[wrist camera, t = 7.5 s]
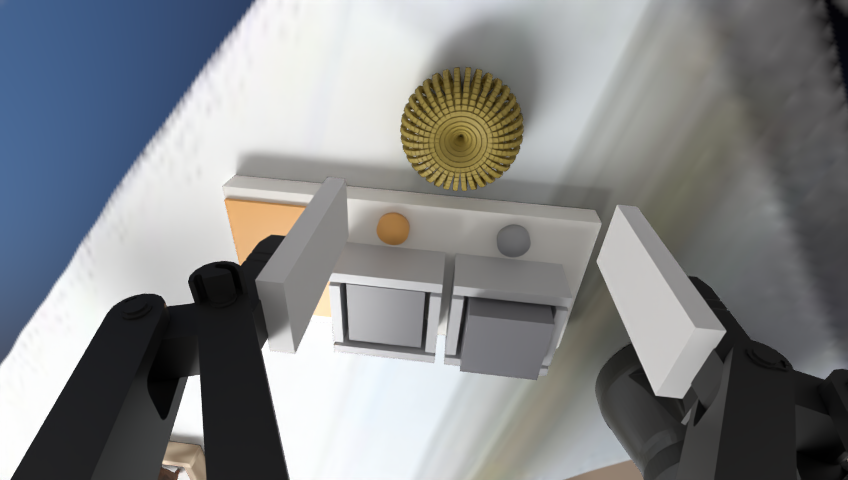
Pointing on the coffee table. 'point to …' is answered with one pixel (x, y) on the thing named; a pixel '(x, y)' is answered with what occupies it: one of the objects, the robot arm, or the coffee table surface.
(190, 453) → the mug frame
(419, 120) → the sculpture
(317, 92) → the coffee table surface
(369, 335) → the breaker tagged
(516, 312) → the block
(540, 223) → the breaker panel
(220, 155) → the coffee table surface
